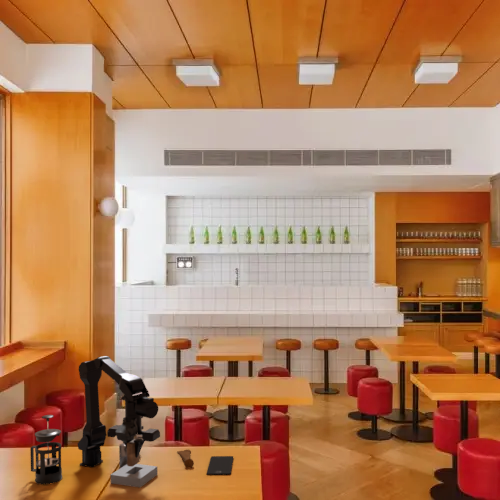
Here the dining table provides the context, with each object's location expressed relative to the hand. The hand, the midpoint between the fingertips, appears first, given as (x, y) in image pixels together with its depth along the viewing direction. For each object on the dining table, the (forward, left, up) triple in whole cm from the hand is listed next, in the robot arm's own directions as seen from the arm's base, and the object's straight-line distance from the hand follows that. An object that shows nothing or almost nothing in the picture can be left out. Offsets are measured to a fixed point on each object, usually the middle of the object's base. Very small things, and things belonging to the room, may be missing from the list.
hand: (133, 456), depth 208 cm
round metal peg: (-10, +10, -8) cm, 16 cm away
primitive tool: (+8, +24, -9) cm, 27 cm away
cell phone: (+25, +21, -8) cm, 33 cm away
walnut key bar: (0, 0, -2) cm, 2 cm away
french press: (-30, -10, -8) cm, 33 cm away
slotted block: (0, 0, -8) cm, 8 cm away
